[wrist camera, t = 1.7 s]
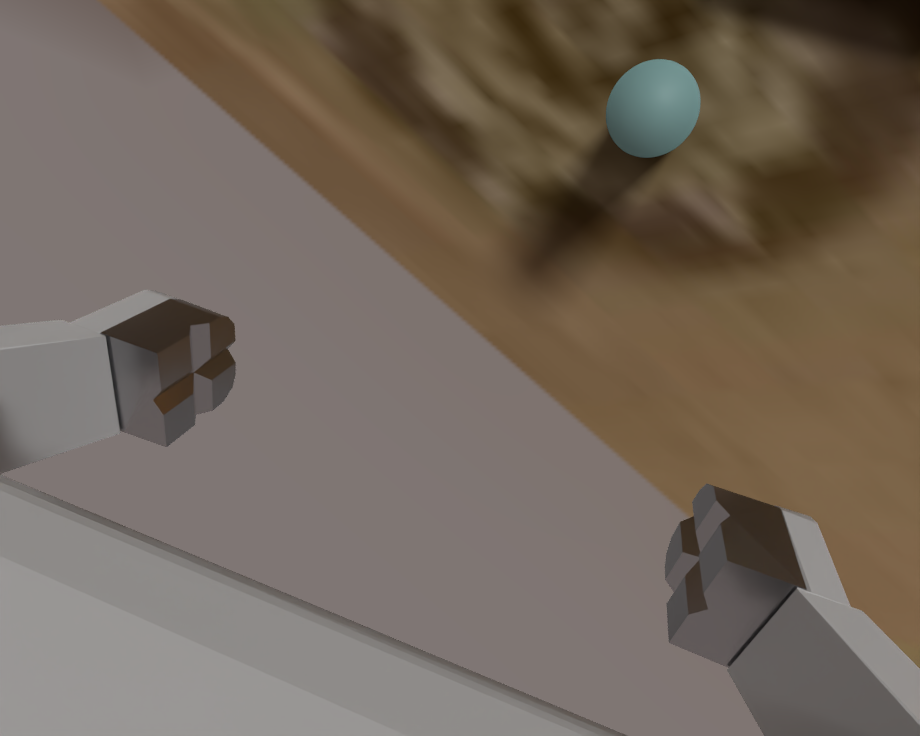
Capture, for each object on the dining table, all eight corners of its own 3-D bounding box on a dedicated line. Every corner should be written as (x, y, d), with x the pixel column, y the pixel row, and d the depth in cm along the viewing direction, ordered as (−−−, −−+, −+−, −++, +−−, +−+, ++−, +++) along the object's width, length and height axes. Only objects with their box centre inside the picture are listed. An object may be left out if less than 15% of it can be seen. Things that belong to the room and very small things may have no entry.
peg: (610, 144, 32) (592, 142, 23) (636, 77, 30) (627, 47, 22) (670, 163, 31) (675, 169, 23) (700, 96, 30) (717, 74, 21)
